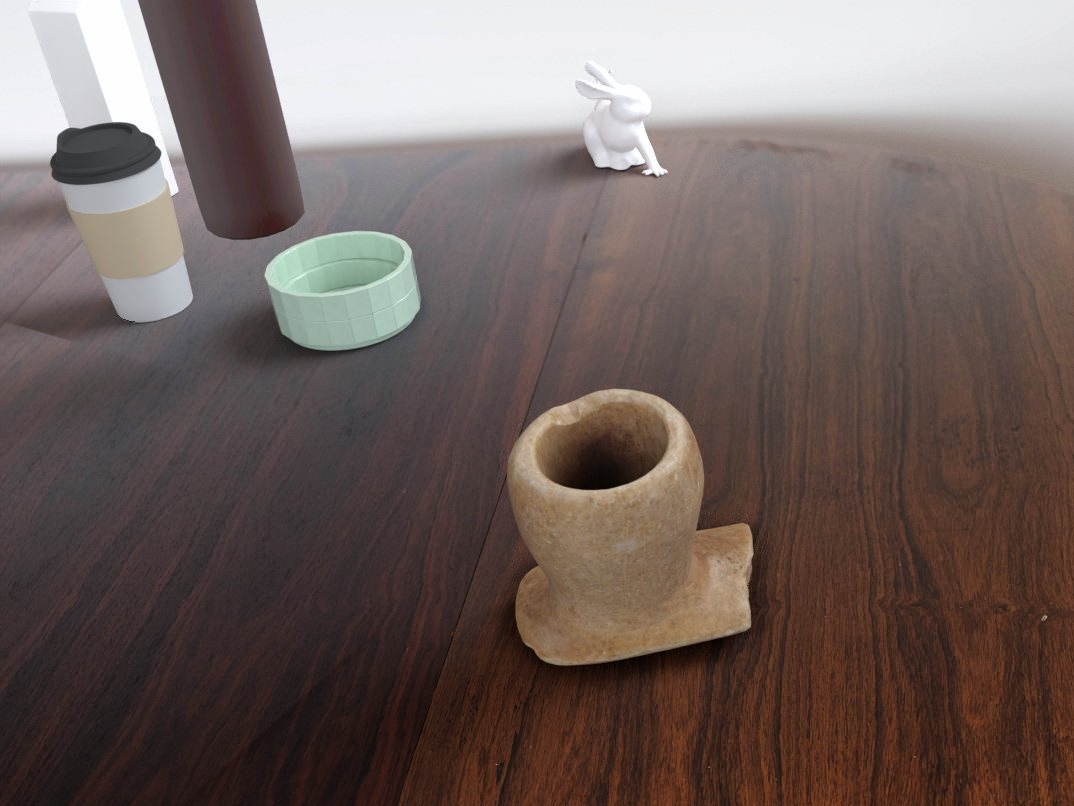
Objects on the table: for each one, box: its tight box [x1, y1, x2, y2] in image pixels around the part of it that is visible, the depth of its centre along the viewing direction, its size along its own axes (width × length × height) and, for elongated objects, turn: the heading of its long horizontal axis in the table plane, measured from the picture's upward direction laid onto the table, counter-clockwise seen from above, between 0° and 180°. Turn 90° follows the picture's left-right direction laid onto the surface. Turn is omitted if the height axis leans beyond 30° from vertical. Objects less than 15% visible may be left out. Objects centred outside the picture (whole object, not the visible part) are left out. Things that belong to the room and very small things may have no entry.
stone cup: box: [506, 388, 754, 666], centre depth 73 cm, size 15×12×15 cm
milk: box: [27, 0, 180, 197], centre depth 127 cm, size 6×6×22 cm
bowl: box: [263, 230, 422, 352], centre depth 109 cm, size 12×12×5 cm
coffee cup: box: [49, 122, 194, 323], centre depth 111 cm, size 9×9×15 cm
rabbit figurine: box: [575, 60, 669, 177], centre depth 128 cm, size 12×8×10 cm, turn 20°
